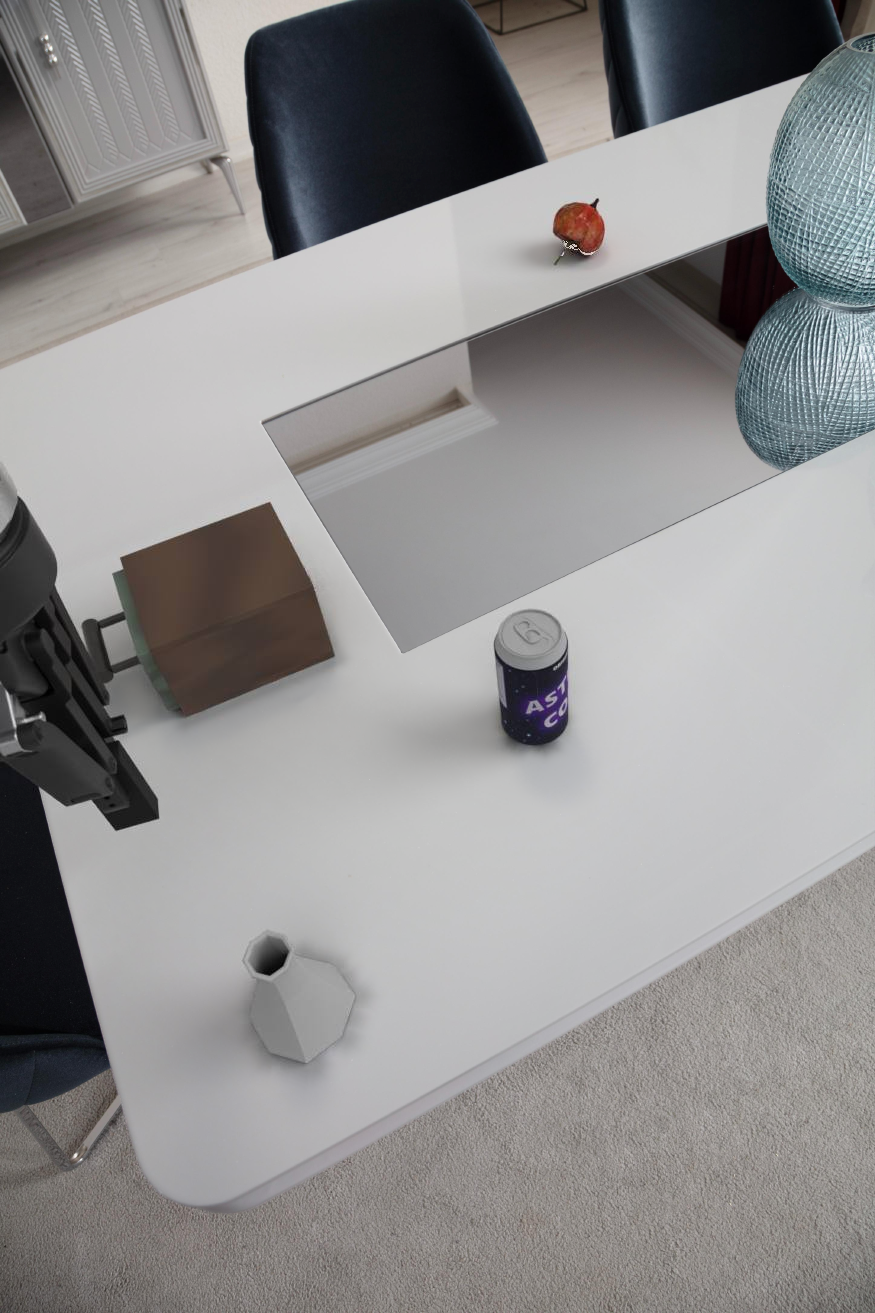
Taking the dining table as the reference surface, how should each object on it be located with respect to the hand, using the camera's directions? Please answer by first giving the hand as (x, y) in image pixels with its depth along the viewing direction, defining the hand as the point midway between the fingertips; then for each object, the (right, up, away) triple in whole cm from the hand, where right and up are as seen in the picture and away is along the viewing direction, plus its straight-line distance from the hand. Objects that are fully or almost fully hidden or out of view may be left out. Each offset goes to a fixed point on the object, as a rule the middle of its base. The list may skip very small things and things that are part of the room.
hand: (136, 814), depth 57 cm
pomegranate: (+38, +65, +72) cm, 104 cm away
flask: (+9, -15, +9) cm, 20 cm away
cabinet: (0, +11, +32) cm, 34 cm away
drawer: (-4, +10, +31) cm, 33 cm away
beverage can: (+27, +4, +23) cm, 35 cm away
